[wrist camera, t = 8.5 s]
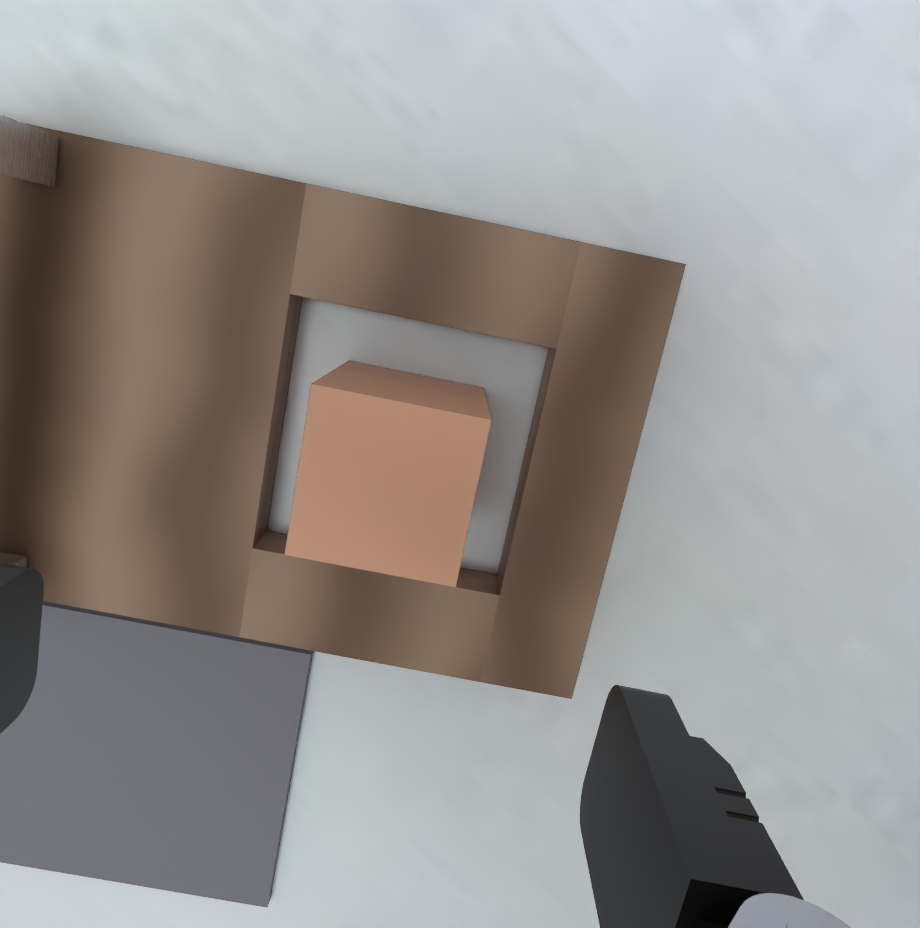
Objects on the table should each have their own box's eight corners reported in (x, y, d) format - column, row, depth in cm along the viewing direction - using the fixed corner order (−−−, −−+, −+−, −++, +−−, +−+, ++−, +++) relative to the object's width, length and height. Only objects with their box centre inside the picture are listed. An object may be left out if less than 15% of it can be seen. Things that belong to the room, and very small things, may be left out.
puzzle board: (669, 266, 26) (685, 264, 24) (564, 672, 30) (571, 698, 28) (-139, 94, 25) (-190, 78, 23) (-147, 539, 28) (-192, 557, 27)
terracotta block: (483, 387, 27) (491, 419, 20) (456, 515, 28) (455, 587, 21) (349, 360, 27) (311, 383, 20) (327, 490, 28) (284, 554, 21)
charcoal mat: (313, 648, 29) (310, 654, 29) (270, 898, 32) (267, 907, 32) (9, 592, 29) (1, 597, 28) (-10, 850, 32) (-17, 859, 31)
